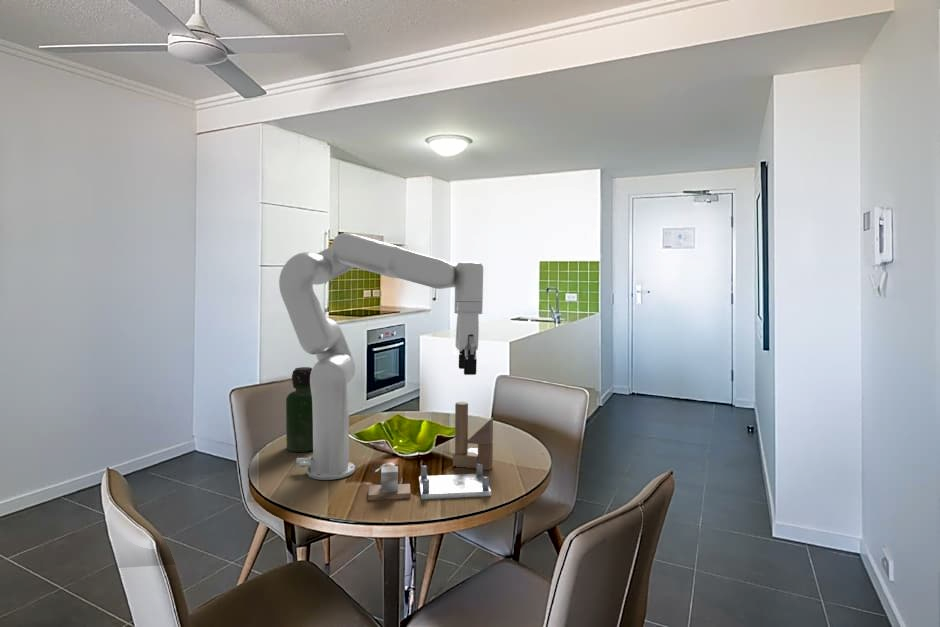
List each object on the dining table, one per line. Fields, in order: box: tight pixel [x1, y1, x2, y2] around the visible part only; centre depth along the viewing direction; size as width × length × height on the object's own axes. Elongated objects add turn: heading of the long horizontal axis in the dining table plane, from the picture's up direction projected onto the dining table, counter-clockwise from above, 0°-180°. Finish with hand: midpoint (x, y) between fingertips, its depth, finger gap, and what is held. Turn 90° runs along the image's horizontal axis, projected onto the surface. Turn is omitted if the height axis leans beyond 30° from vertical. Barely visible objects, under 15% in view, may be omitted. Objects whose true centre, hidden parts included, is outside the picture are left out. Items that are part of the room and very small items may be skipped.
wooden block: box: [452, 401, 494, 471], centre depth 149 cm, size 4×11×18 cm, turn 75°
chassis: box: [418, 463, 492, 500], centre depth 133 cm, size 17×12×4 cm
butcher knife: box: [468, 447, 478, 454], centre depth 157 cm, size 5×15×1 cm, turn 177°
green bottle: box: [285, 366, 313, 453], centre depth 165 cm, size 10×10×25 cm
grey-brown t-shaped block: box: [367, 465, 412, 501], centre depth 129 cm, size 10×6×6 cm, turn 98°
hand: (467, 371), depth 143 cm, fingers open, 9 cm apart
